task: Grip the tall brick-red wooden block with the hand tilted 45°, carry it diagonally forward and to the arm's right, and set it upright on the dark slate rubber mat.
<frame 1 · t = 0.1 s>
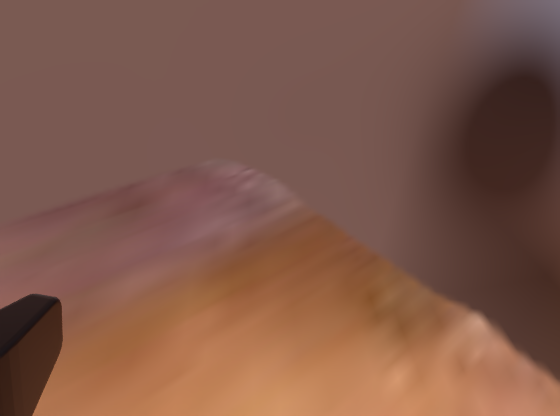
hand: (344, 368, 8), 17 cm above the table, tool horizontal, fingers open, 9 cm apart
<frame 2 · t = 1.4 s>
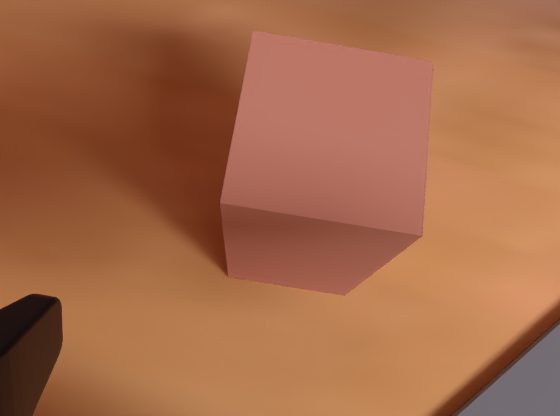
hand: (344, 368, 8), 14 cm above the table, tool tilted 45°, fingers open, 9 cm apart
red block: (294, 230, 23), on the table
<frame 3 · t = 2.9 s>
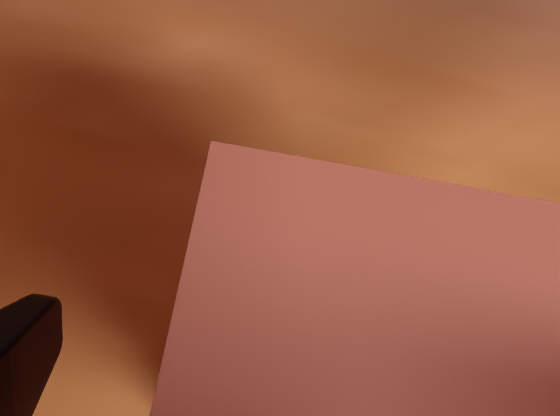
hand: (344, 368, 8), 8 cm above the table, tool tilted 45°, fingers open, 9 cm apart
red block: (294, 371, 16), on the table
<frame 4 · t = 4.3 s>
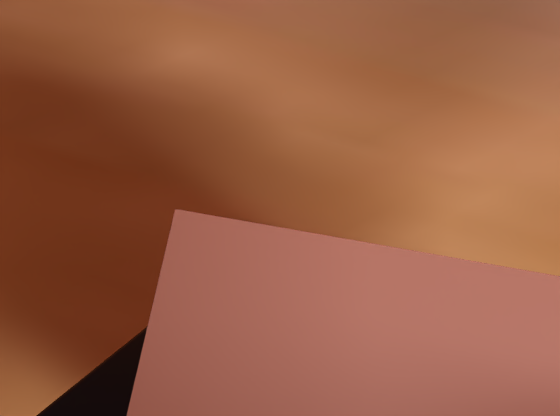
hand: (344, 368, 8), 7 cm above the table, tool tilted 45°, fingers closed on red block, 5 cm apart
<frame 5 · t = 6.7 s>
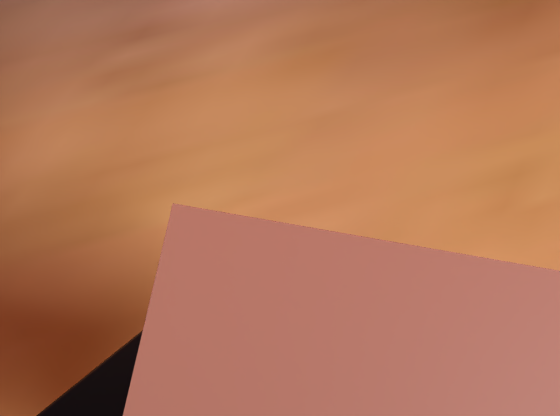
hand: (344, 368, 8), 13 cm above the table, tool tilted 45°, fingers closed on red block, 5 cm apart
when the fingers open (8 cm above the table, at t = 9.0 s): red block drops 1 cm, resting on slate mat.
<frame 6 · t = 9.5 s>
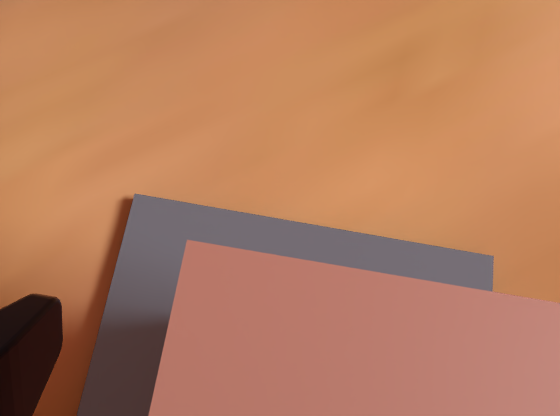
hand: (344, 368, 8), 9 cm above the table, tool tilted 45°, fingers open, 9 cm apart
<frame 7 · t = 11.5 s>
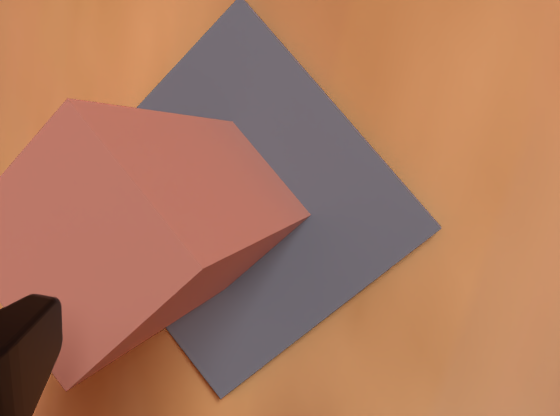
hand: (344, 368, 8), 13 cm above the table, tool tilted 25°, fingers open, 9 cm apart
slate mat: (234, 206, 22), on the table
red block: (228, 206, 22), resting on slate mat
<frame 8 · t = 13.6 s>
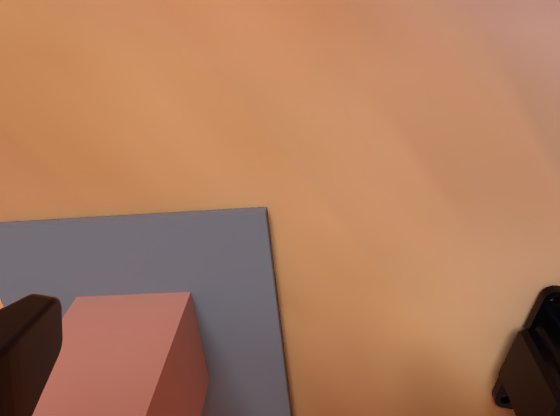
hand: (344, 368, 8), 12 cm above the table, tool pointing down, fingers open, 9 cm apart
slate mat: (149, 332, 24), on the table
red block: (145, 340, 23), resting on slate mat
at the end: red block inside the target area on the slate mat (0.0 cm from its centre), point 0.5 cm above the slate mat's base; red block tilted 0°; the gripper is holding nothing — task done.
